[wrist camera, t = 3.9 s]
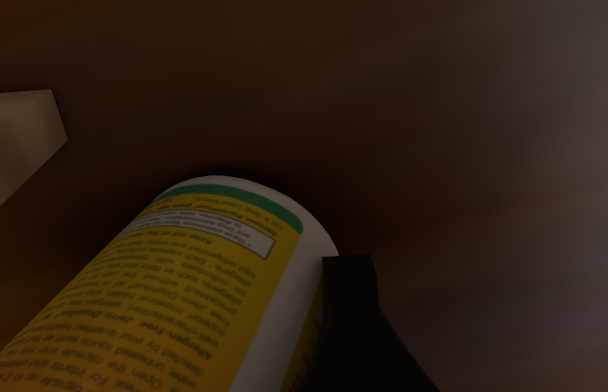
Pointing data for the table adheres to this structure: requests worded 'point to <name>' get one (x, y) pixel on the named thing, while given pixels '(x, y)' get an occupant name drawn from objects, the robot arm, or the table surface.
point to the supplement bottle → (186, 300)
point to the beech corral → (27, 136)
